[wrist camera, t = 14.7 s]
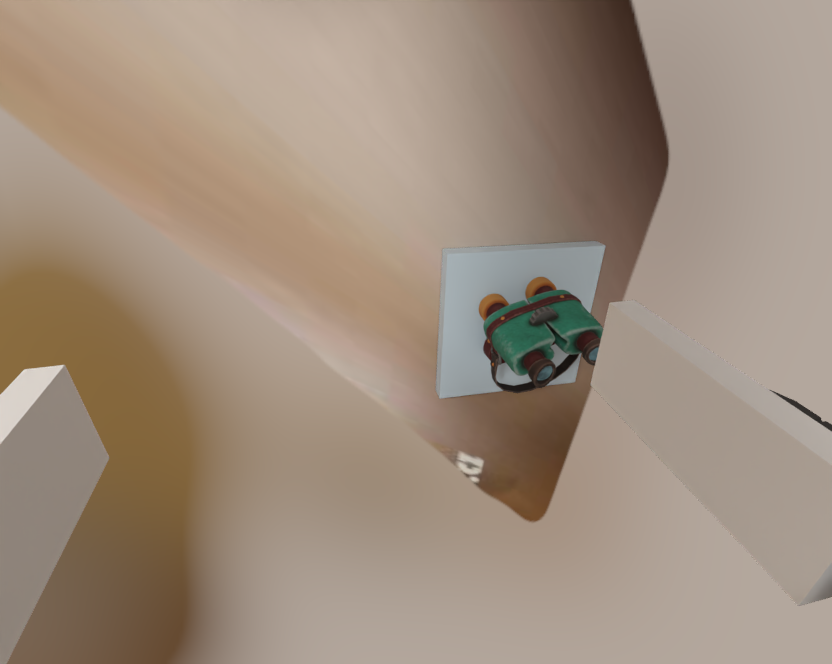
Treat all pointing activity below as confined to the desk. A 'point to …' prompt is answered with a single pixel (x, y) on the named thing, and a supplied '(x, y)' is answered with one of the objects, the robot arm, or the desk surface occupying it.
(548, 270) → the board
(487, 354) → the binoculars
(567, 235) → the desk surface
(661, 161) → the desk surface
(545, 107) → the desk surface
